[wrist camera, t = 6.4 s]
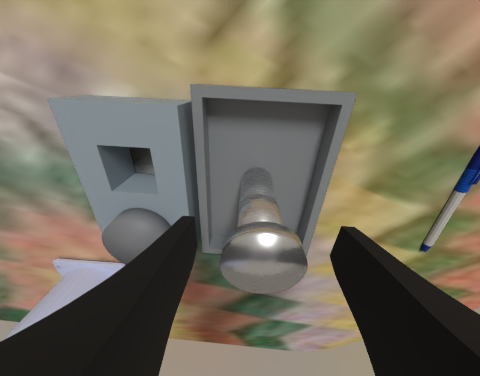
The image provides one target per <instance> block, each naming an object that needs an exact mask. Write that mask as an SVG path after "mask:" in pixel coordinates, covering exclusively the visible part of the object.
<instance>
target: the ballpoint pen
mask: <svg viewBox="0 0 480 376" xmlns="http://www.w3.org/2000/svg"><path fill="white" fill-rule="evenodd" d="M479 173H480V147H479V148H478V150H477V151H476V153H475V155H474V156H473V158H472V160H471V161H470V163H469V165H468V166H467V169H466V171H464V174H463V176H462V178H460V181H459V183H457V185H456V187H455V188H454V192H453V193H452V195H451V197H450V198H449V200H448V202H447V204H446V205H445V207H444V209H443V210H442V212H441V214H440V215H439V217H438V219H437V220H436V222H435V224H434V225H433V227H432V229H431V230H430V232H429V234H428V235H427V237H426V239H425V240H424V242H423V245H422V248H421V250H422V251H424V252H426V251H427V250H428V249H429V248H430V247H432V245H433V244H434V242H435V241H436V239H437V237H438V236H439V234H440V233H441V231H442V230H443V228H444V226H445V225H446V223H447V222H448V220H449V219H450V217H451V215H452V214H453V212H454V211H455V209H456V208H457V206H458V204H459V203H460V201H461V200H462V198H463V197H464V195H465V193H466V192H468V191H469V189H470V187H471V186H472V184H477V183H478V181H479V180H480V174H479ZM477 175H478V177H477ZM474 180H475V181H474Z"/></svg>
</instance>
